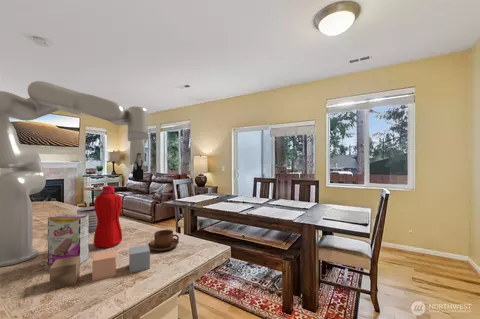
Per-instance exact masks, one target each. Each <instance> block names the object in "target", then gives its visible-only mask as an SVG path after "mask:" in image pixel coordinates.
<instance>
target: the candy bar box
mask: <svg viewBox="0 0 480 319" xmlns="http://www.w3.org/2000/svg"><path fill="white" fill-rule="evenodd" d="M89 236H90V234H89V215H77V214H66V213H65V214H56V215H52V216H49V217H48V218H47V265H49V266H50V265H51V266H52V264H53V263H54V261H55V260H58V259H64V258H70V257H76V256H80V265H81V264H84V263H85V262H86V261H87V260H89V250H90V249H89V248H90V247H89V246H90V245H89V244H90V243H89V241H90V240H89V239H90V238H89Z"/></svg>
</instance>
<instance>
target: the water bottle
mask: <svg viewBox="0 0 480 319" xmlns="http://www.w3.org/2000/svg"><path fill="white" fill-rule="evenodd" d="M93 206H94V208H95V212H96V215H97V226H96V230H95V233H93V234H94V235H93V245H94V247H95V248H104V249H106V248H107V249H108V248H112V247H114V246H116V245H118V244H120V243H121V242H122V241H123V232H122V231H123V230H122V226H121V223H120V220H119V219H120V218H121V217H122V215H123V211H122V207H123V199H122V197H121V195H120V194H118V193H116V192H115V186H114V185H104V186H102V193H100V194H99V195H98V196H96V198H95V200H94V203H93Z"/></svg>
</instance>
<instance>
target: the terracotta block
mask: <svg viewBox="0 0 480 319" xmlns="http://www.w3.org/2000/svg"><path fill="white" fill-rule="evenodd" d="M91 264H92V265H91V266H92V268H91V269H92V272H91V273H92V278H91V279H92V282H93V281H97V280H102V279H107V278H113V277H116V274H117V273H116V272H117V249H114V250H107V251H102V252H96V253H94V254H93V258H92V263H91Z"/></svg>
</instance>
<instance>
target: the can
mask: <svg viewBox="0 0 480 319" xmlns="http://www.w3.org/2000/svg"><path fill="white" fill-rule="evenodd" d="M76 215H89V233H90V234H95V233H94V232H95V230H96V226H97V215H96V212H95V208H94V205H93V206H87V207H82V208H79V209H76Z"/></svg>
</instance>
